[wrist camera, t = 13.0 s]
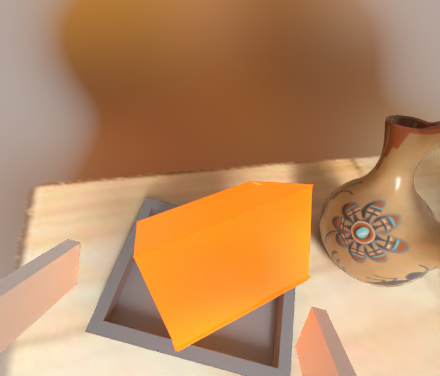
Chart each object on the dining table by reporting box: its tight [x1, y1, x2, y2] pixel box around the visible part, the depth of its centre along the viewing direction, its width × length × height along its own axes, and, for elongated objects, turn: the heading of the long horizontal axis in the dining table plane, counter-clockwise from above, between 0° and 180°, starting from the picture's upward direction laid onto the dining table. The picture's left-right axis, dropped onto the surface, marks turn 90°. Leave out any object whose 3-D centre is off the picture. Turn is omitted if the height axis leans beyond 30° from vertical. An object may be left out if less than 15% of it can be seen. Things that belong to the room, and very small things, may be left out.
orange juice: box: [133, 181, 313, 351], centre depth 18 cm, size 8×9×20 cm
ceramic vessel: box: [320, 115, 440, 287], centre depth 21 cm, size 16×9×25 cm, turn 14°
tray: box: [85, 198, 295, 376], centre depth 27 cm, size 20×15×3 cm
